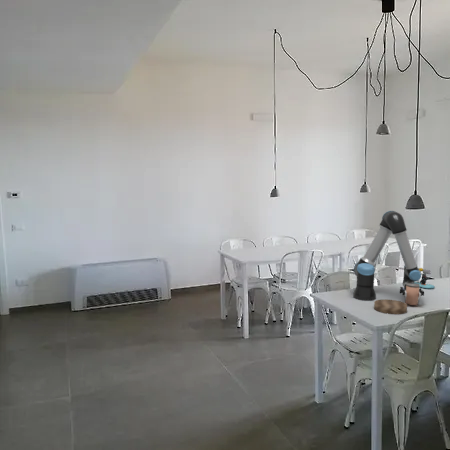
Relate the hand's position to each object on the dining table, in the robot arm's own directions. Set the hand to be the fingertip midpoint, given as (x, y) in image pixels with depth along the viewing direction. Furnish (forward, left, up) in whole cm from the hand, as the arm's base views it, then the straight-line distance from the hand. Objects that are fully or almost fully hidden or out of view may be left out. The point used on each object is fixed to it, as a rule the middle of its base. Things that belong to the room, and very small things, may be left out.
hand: (412, 295), depth 315 cm
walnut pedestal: (-14, -10, -8) cm, 19 cm away
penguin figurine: (+12, +63, -8) cm, 64 cm away
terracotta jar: (0, +5, -7) cm, 8 cm away
